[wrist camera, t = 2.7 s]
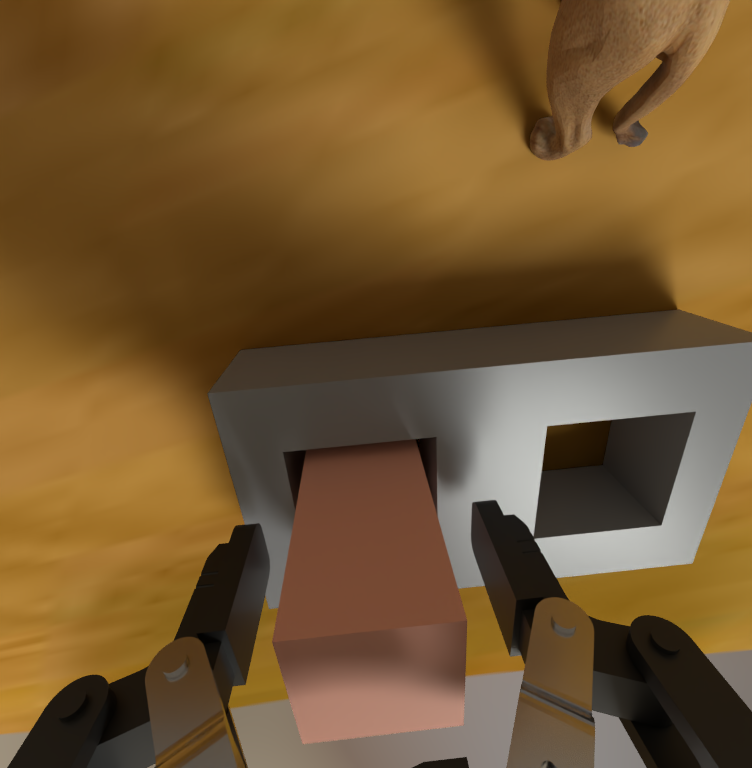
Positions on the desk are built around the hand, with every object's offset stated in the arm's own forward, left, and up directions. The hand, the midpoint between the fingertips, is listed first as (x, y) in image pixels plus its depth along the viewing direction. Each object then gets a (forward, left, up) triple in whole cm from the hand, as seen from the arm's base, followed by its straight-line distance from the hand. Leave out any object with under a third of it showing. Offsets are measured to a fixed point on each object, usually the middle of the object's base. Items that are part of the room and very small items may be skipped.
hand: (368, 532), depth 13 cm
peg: (0, 0, -5) cm, 5 cm away
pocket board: (-5, 0, -5) cm, 7 cm away
